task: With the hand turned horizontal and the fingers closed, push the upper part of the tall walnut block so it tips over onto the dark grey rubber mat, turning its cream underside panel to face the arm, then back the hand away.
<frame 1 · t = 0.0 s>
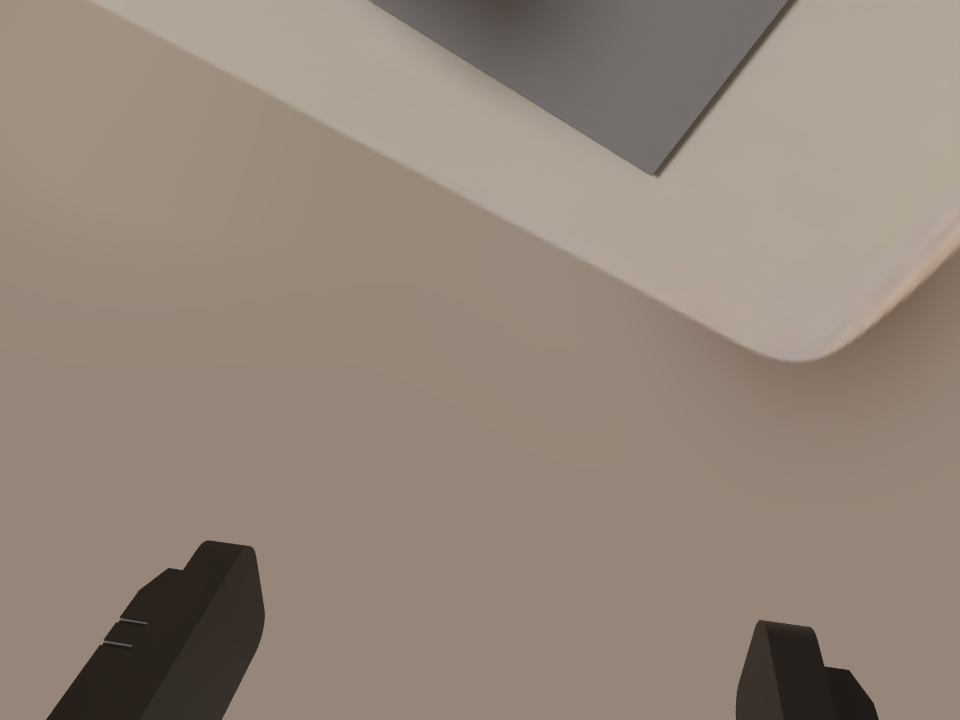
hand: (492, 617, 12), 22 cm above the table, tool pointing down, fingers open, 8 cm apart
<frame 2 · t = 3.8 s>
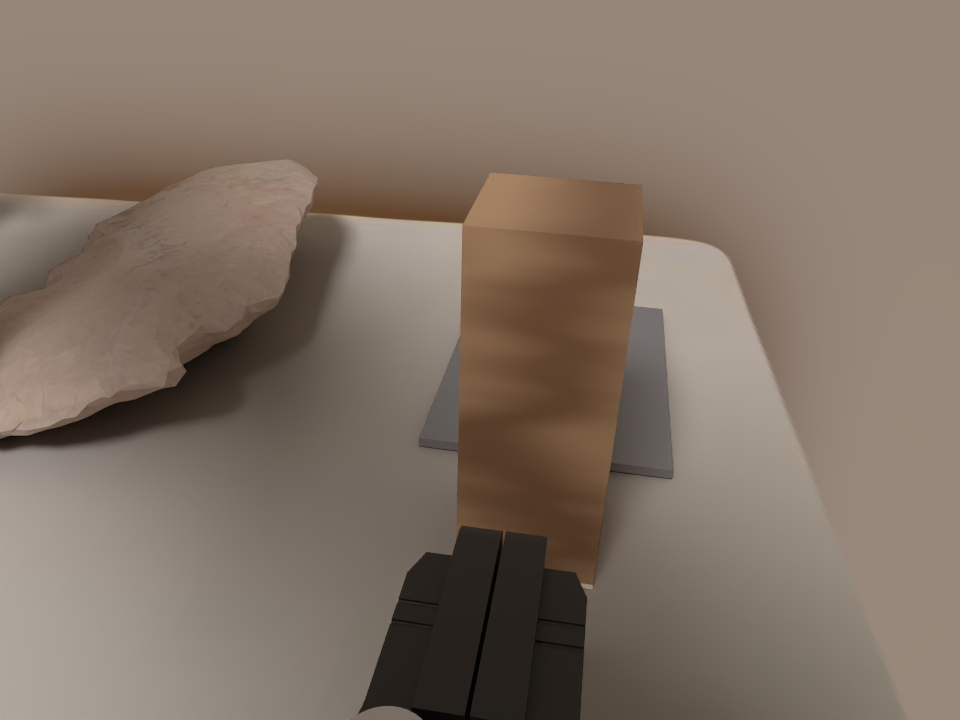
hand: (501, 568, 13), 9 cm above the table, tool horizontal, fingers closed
stone: (181, 325, 40), on the table, touching arm
mat: (557, 371, 37), on the table
block: (531, 531, 27), on the table
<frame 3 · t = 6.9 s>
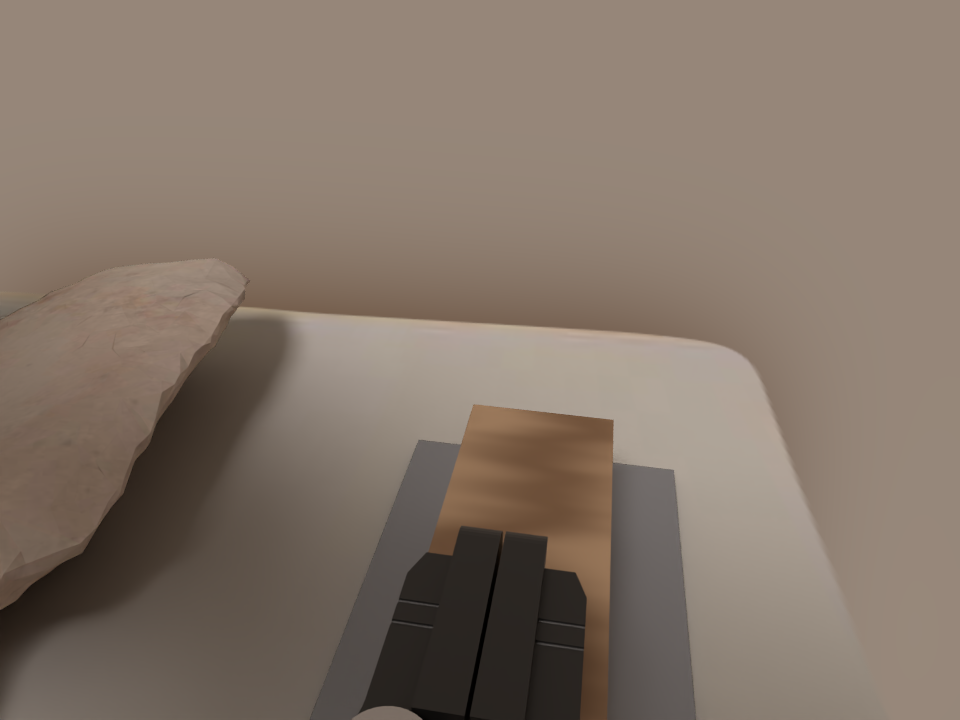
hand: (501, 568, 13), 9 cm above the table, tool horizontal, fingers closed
stone: (10, 518, 28), on the table, touching arm
mat: (523, 596, 25), on the table
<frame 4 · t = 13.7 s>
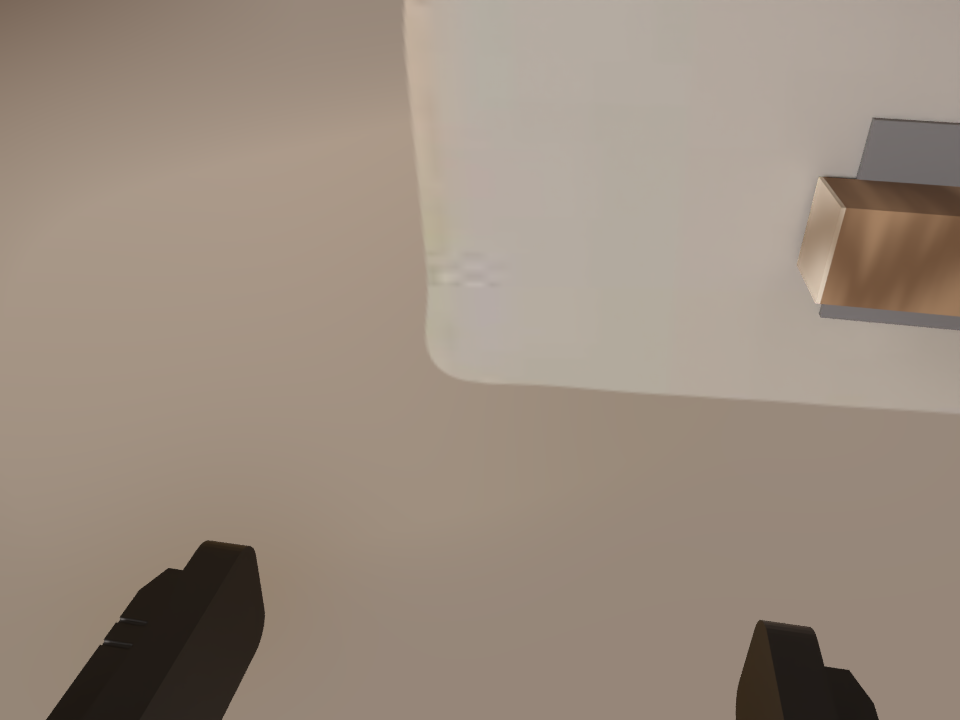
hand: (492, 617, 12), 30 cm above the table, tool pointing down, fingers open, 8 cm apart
block: (817, 238, 36), point 3 cm above the table, tilted 90°, touching mat
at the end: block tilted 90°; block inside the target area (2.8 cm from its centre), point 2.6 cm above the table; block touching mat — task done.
